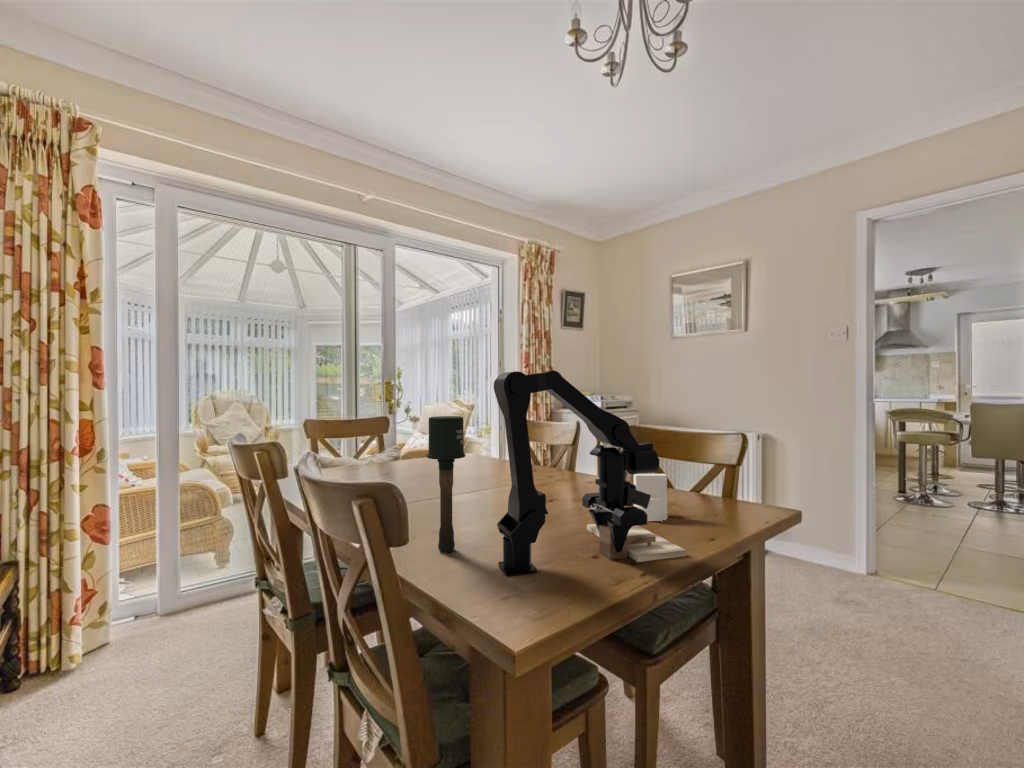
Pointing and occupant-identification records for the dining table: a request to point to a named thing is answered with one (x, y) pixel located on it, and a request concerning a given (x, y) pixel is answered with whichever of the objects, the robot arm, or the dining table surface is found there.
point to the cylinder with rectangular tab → (653, 494)
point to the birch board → (647, 546)
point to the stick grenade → (446, 469)
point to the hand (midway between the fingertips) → (612, 547)
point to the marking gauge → (609, 549)
